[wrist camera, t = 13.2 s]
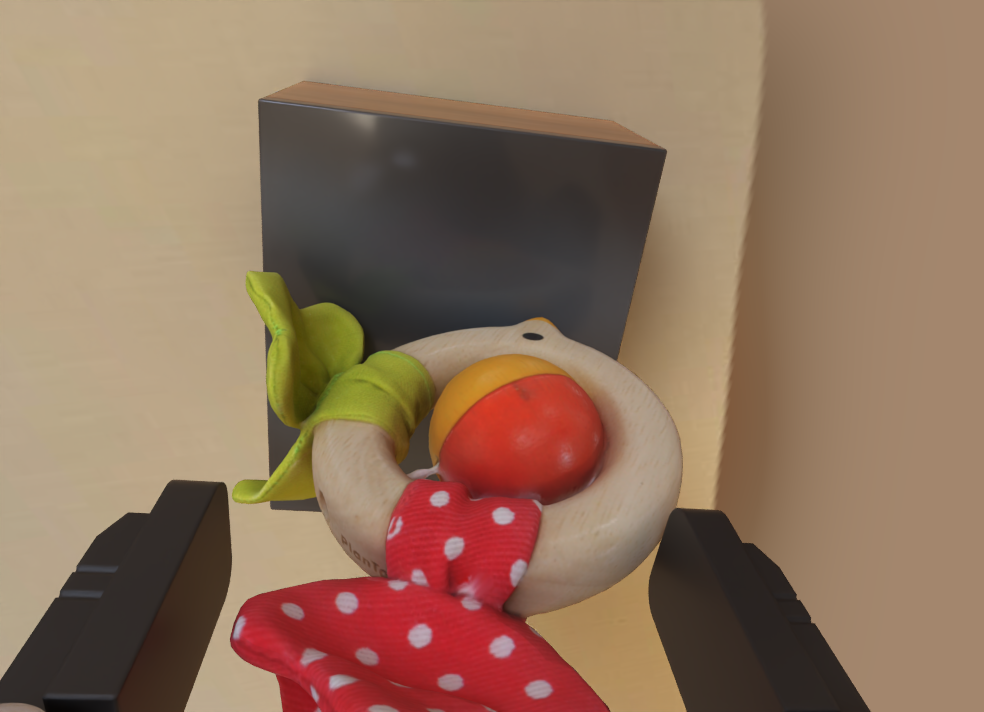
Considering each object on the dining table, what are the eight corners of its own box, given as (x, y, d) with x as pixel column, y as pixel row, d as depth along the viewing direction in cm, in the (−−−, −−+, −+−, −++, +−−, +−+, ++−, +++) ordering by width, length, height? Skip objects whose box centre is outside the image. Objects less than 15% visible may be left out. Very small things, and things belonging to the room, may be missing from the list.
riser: (301, 80, 18) (257, 98, 14) (614, 121, 19) (668, 149, 15) (302, 416, 23) (269, 510, 18) (552, 432, 24) (577, 525, 20)
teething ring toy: (511, 194, 17) (133, 280, 14) (951, 352, 8) (176, 718, 5) (526, 398, 20) (220, 511, 16) (862, 678, 11) (348, 1051, 8)
